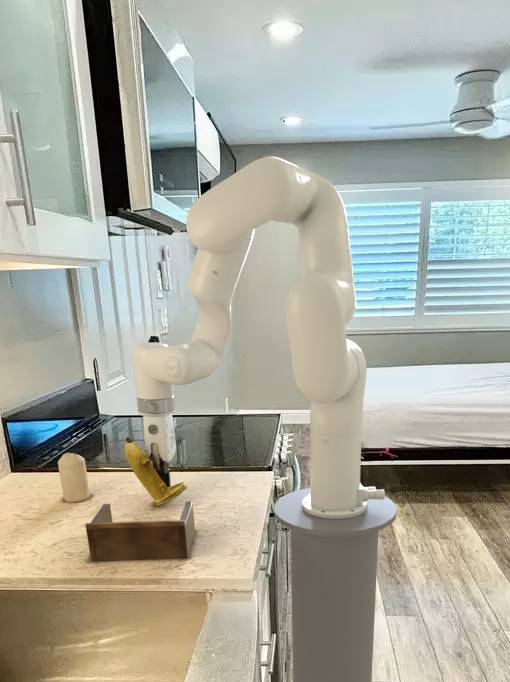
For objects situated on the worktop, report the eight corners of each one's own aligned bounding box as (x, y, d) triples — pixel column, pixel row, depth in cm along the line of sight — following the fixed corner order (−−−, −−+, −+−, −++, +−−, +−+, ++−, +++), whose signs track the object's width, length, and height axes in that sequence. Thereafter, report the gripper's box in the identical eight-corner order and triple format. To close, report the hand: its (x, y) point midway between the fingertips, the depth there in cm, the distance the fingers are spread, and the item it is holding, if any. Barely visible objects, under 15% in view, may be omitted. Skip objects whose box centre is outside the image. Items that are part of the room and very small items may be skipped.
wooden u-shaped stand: (195, 531, 107) (192, 497, 104) (187, 558, 97) (184, 521, 94) (107, 533, 107) (102, 500, 104) (91, 561, 97) (85, 524, 94)
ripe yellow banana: (131, 514, 116) (119, 443, 110) (135, 499, 123) (125, 432, 118) (188, 509, 117) (179, 438, 111) (189, 495, 124) (181, 428, 119)
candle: (95, 495, 126) (89, 452, 123) (76, 503, 122) (68, 459, 118) (78, 491, 129) (71, 449, 125) (58, 499, 125) (50, 455, 121)
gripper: (168, 413, 110) (174, 501, 117) (179, 397, 124) (184, 477, 131) (129, 413, 110) (138, 501, 117) (145, 397, 124) (152, 477, 131)
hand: (162, 488), depth 124 cm, fingers closed
